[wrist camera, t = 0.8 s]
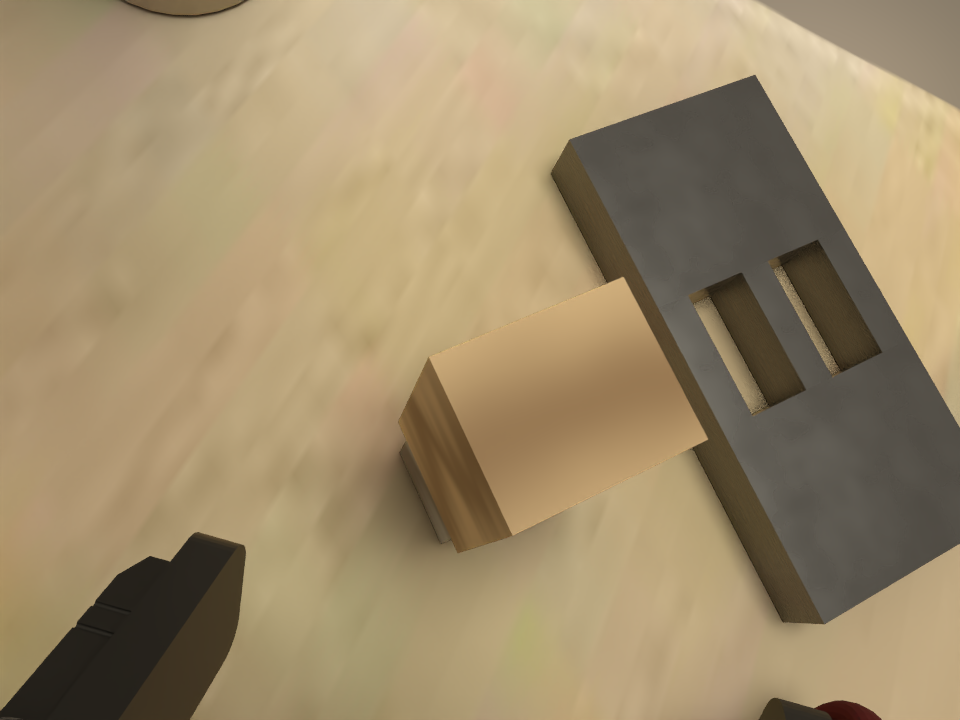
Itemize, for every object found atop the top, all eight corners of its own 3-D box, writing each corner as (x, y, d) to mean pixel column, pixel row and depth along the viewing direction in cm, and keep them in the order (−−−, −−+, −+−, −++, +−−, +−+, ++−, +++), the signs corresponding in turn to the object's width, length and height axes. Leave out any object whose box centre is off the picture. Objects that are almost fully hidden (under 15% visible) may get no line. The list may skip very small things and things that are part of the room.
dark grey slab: (550, 173, 39) (569, 139, 36) (725, 110, 42) (755, 74, 39) (783, 622, 35) (824, 624, 32) (957, 520, 38) (1009, 513, 35)
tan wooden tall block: (387, 444, 34) (428, 356, 22) (517, 387, 36) (623, 276, 23) (439, 558, 33) (512, 535, 21) (569, 495, 35) (708, 439, 22)
